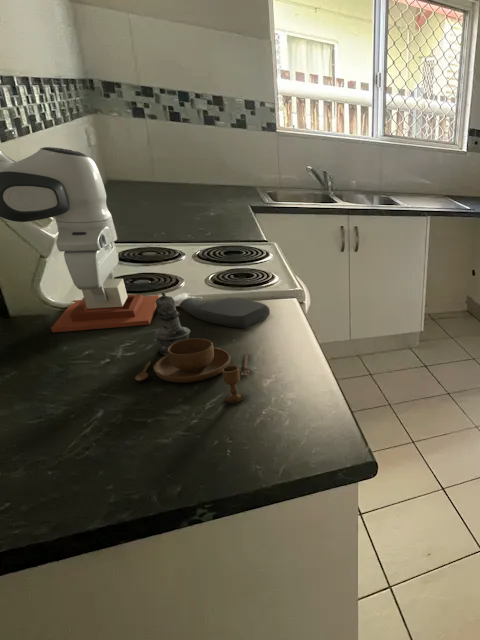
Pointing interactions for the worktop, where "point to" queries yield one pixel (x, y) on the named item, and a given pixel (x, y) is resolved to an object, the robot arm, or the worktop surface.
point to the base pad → (107, 315)
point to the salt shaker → (169, 324)
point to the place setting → (197, 365)
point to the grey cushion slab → (224, 310)
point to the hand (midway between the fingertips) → (105, 295)
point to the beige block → (108, 295)
